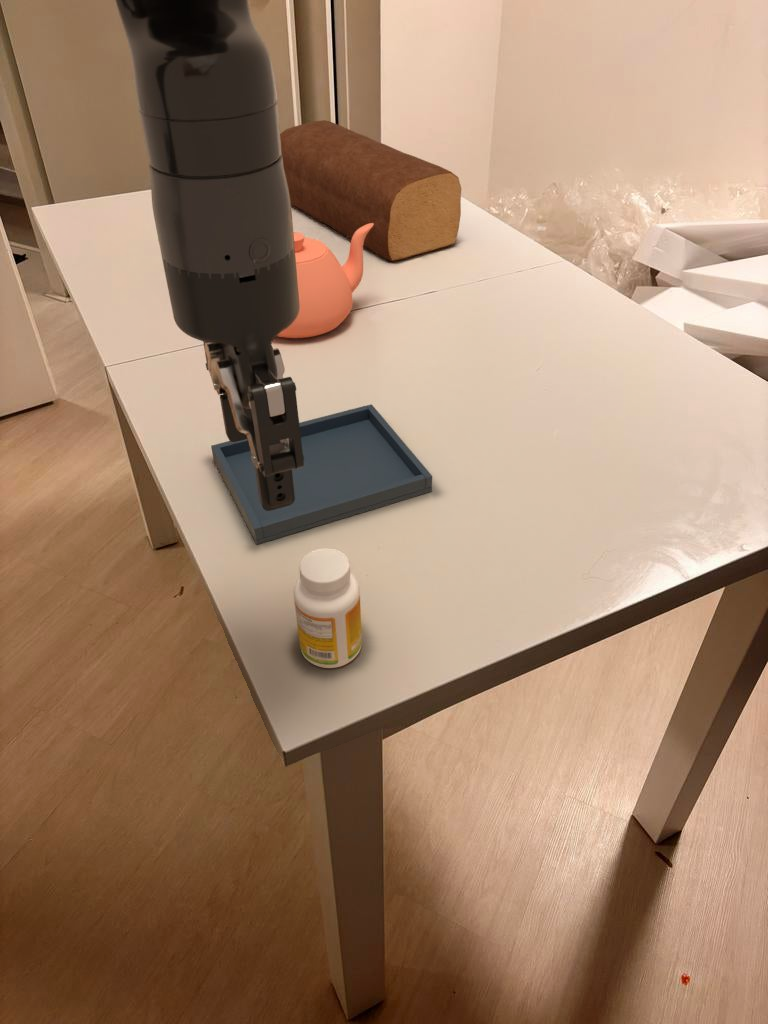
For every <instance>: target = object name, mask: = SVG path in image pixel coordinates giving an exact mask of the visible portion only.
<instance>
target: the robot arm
mask: <svg viewBox="0 0 768 1024" xmlns="http://www.w3.org/2000/svg"><path fill="white" fill-rule="evenodd" d="M114 2H115V4H116V8H117V12H118V16H119V18H120V22H121V24H122V27H123V31H124V33H125V37H126V40H127V41H126V42H127V45H128V51H129V55H130V59H131V61H130V62H131V66H132V74H133V81H134V92H135V97H136V105H137V109H138V114H139V120H140V125H141V129H142V130H141V131H142V136H143V140H144V146H145V150H146V151H145V153H146V157H147V161H148V168H149V176H150V191H151V193H150V194H151V206H152V207H151V208H152V213H153V218H154V225H155V229H156V235H157V239H158V244H159V248H160V253H161V259H162V265H163V271H164V275H165V281H166V284H167V285H166V286H167V290H168V296H169V300H170V306H171V311H172V316H173V320H174V323H175V324H176V326H177V327H178V329H179V330H180V331H182V332H183V333H184V334H185V335H187V336H188V337H191V338H192V339H195V340H198V341H201V342H202V343H203V349H204V350H203V351H204V355H205V361H206V363H205V369H206V370H207V371H208V372H209V375H210V378H211V382H212V385H213V389H214V391H216V393H217V395H219V400H220V406H221V413H222V418H223V424H224V431H225V435H226V436H227V439H228V441H231V442H237V441H241V440H245V439H248V442H249V446H250V449H251V453H252V456H251V458H252V462H253V464H254V465H255V472H256V479H257V486H258V492H259V499H260V503H261V505H262V507H263V509H264V510H266V511H271V510H275V509H279V508H282V507H286V506H289V505H291V504H292V503H293V502H294V501H295V494H294V485H293V475H292V469H297V468H301V467H304V456H303V452H302V443H301V434H300V425H299V423H300V418H299V409H298V401H297V392H296V391H297V385H296V382H294V380H293V378H292V377H291V376H287V377H284V374H285V372H286V370H285V368H286V367H285V365H284V361H283V357H282V354H281V351H280V349H279V348H278V347H275V348H273V345H272V344H273V341H274V339H275V338H276V337H278V336H277V335H278V334H279V333H280V332H281V331H283V330H284V329H286V328H288V327H289V326H290V325H291V324H292V323H293V322H294V321H295V319H296V318H297V316H298V313H299V308H300V304H299V292H298V281H297V269H296V257H295V245H294V234H293V232H294V225H293V224H294V222H293V212H292V211H293V210H292V205H291V200H290V194H289V189H288V184H287V180H286V175H285V171H284V165H283V158H282V154H281V152H282V150H281V138H280V134H281V127H280V115H279V107H278V106H279V105H278V92H277V86H276V77H275V71H274V67H273V63H272V59H271V55H270V52H269V50H268V46H267V45H266V43H265V41H264V40H263V38H262V36H261V35H260V34H259V32H258V30H257V27H256V26H255V23H254V21H253V18H252V15H251V11H250V6H249V5H250V4H249V0H114ZM279 440H280V442H281V443H278V444H274V445H270V444H271V443H272V442H275V441H279Z"/></svg>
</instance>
